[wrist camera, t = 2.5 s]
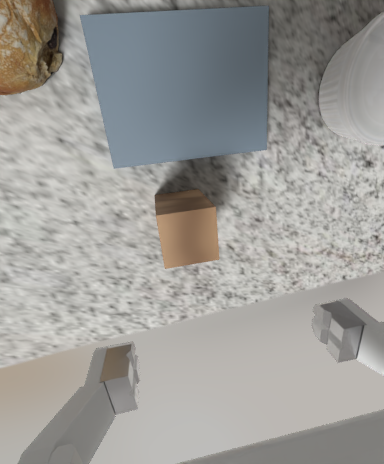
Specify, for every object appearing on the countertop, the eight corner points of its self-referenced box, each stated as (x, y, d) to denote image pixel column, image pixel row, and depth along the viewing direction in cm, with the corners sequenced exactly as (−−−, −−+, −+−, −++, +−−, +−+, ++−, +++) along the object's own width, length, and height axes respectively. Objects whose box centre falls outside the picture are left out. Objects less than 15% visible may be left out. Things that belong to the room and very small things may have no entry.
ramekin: (397, 5, 24) (461, -30, 19) (404, 117, 28) (457, 113, 23) (296, 57, 24) (333, 36, 19) (319, 160, 28) (354, 164, 23)
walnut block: (161, 235, 28) (164, 268, 21) (154, 194, 26) (156, 215, 19) (202, 229, 29) (219, 259, 22) (198, 188, 27) (215, 206, 20)
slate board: (115, 166, 25) (113, 168, 23) (84, 23, 20) (79, 15, 19) (260, 149, 26) (266, 149, 25) (261, 14, 22) (268, 5, 21)
